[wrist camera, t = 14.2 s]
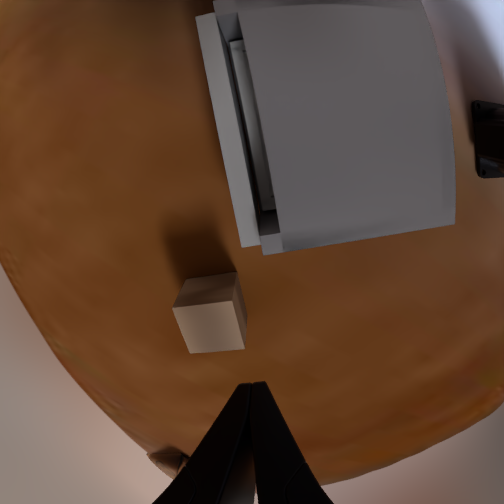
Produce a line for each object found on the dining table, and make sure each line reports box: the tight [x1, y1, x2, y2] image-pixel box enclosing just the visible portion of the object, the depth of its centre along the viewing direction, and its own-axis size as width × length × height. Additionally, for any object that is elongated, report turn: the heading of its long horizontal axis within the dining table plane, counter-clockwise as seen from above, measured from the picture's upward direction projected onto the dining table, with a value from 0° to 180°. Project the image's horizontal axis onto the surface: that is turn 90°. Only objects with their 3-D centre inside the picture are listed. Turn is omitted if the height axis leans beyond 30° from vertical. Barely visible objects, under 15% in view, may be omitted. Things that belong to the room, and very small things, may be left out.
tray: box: [195, 12, 276, 247], centre depth 14 cm, size 11×13×4 cm
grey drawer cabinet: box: [213, 0, 456, 255], centre depth 14 cm, size 11×13×6 cm
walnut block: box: [172, 272, 247, 353], centre depth 20 cm, size 4×4×4 cm
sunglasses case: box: [147, 453, 188, 480], centre depth 36 cm, size 18×7×7 cm
